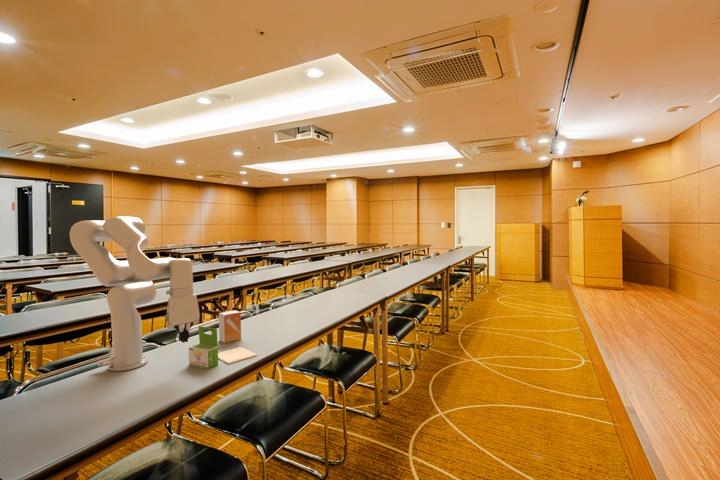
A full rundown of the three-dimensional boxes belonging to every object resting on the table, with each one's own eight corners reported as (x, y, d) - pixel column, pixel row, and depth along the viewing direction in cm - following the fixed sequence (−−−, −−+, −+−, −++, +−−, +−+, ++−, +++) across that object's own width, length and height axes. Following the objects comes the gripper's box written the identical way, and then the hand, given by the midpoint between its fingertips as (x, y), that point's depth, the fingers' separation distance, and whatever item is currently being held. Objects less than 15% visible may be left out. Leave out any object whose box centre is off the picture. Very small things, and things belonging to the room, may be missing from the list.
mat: (228, 364, 134) (228, 362, 134) (213, 355, 144) (213, 354, 144) (256, 355, 143) (256, 354, 143) (240, 348, 153) (240, 346, 152)
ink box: (188, 365, 134) (186, 329, 134) (199, 360, 139) (198, 325, 139) (207, 369, 130) (206, 332, 129) (219, 364, 135) (217, 328, 134)
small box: (224, 343, 160) (223, 315, 159) (219, 340, 164) (218, 312, 164) (241, 339, 165) (240, 311, 165) (235, 336, 170) (235, 309, 170)
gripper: (162, 296, 121) (165, 349, 121) (206, 290, 131) (208, 338, 132) (156, 294, 126) (158, 344, 127) (199, 288, 137) (201, 334, 137)
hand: (184, 341), depth 129 cm, fingers closed
